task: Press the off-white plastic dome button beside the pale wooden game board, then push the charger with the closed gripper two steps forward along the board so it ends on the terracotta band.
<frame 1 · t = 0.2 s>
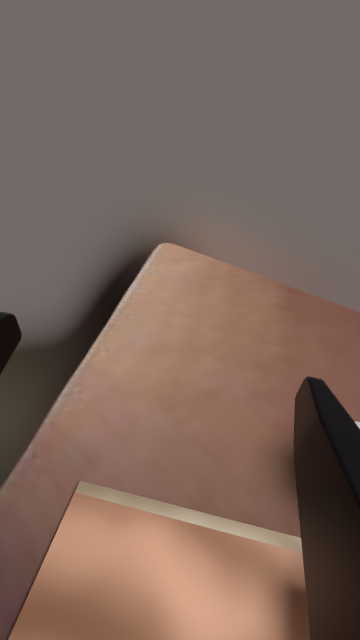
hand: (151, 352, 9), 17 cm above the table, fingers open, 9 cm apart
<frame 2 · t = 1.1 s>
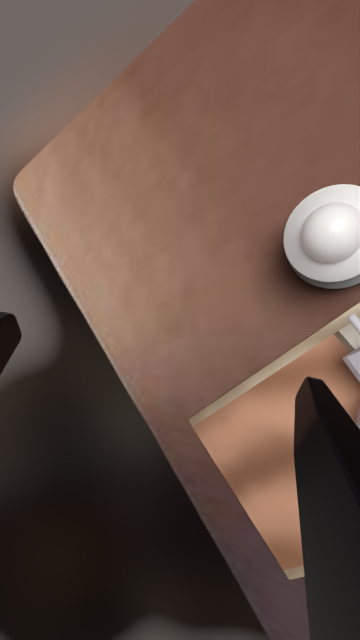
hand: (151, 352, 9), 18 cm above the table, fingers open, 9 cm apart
dome: (331, 233, 17), point 5 cm above the table, slide at 0.0 cm
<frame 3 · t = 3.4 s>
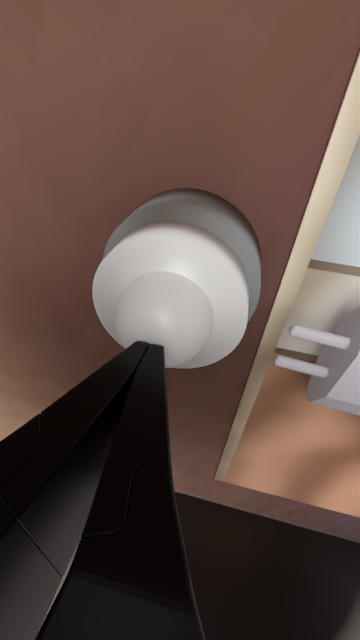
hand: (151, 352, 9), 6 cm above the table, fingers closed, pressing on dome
dome: (164, 318, 10), point 4 cm above the table, slide at 0.7 cm, touching gripper
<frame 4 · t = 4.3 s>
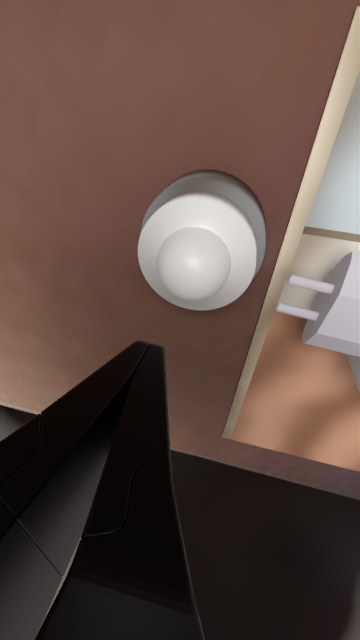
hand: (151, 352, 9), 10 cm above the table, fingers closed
dome: (193, 264, 14), point 4 cm above the table, slide at 0.8 cm
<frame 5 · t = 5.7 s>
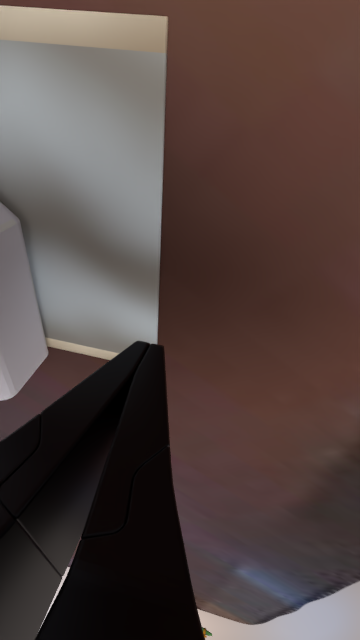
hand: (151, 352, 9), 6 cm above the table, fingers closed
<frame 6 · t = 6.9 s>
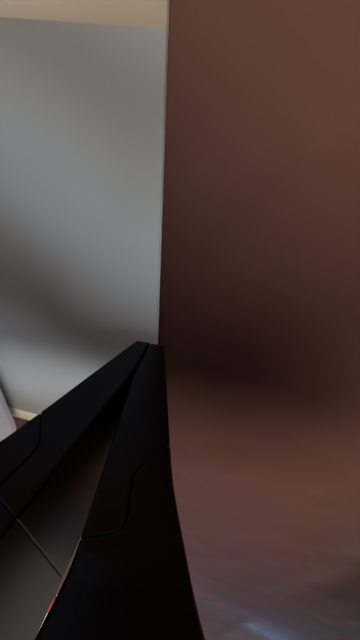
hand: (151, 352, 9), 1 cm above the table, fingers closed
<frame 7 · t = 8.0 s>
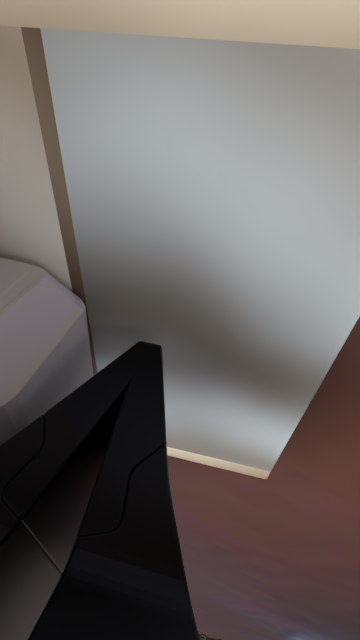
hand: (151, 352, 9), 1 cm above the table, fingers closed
figurine: (219, 638, 52), on the table
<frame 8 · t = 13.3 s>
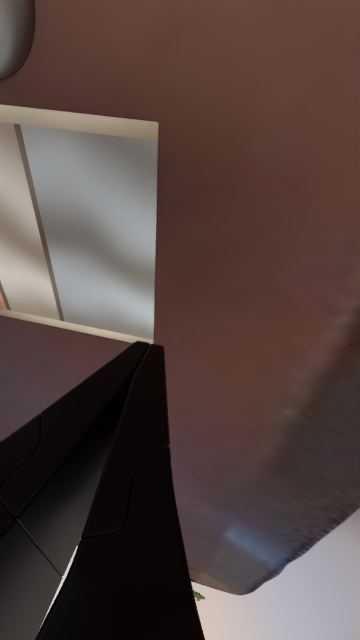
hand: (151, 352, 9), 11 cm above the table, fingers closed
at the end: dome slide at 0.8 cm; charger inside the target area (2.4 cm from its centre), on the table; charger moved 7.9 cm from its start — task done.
